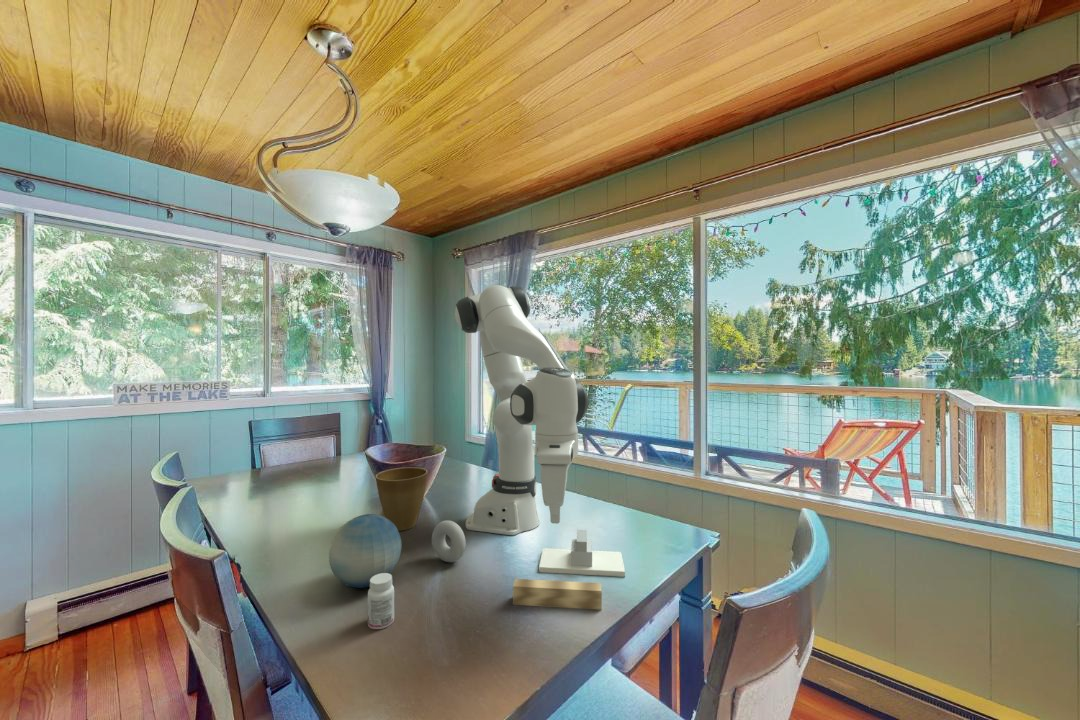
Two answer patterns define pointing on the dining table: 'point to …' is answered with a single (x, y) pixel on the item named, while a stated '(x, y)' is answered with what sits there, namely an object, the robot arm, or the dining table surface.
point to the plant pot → (402, 495)
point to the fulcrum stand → (582, 559)
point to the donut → (456, 537)
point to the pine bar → (557, 594)
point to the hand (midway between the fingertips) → (556, 513)
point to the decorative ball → (364, 550)
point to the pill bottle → (381, 601)
